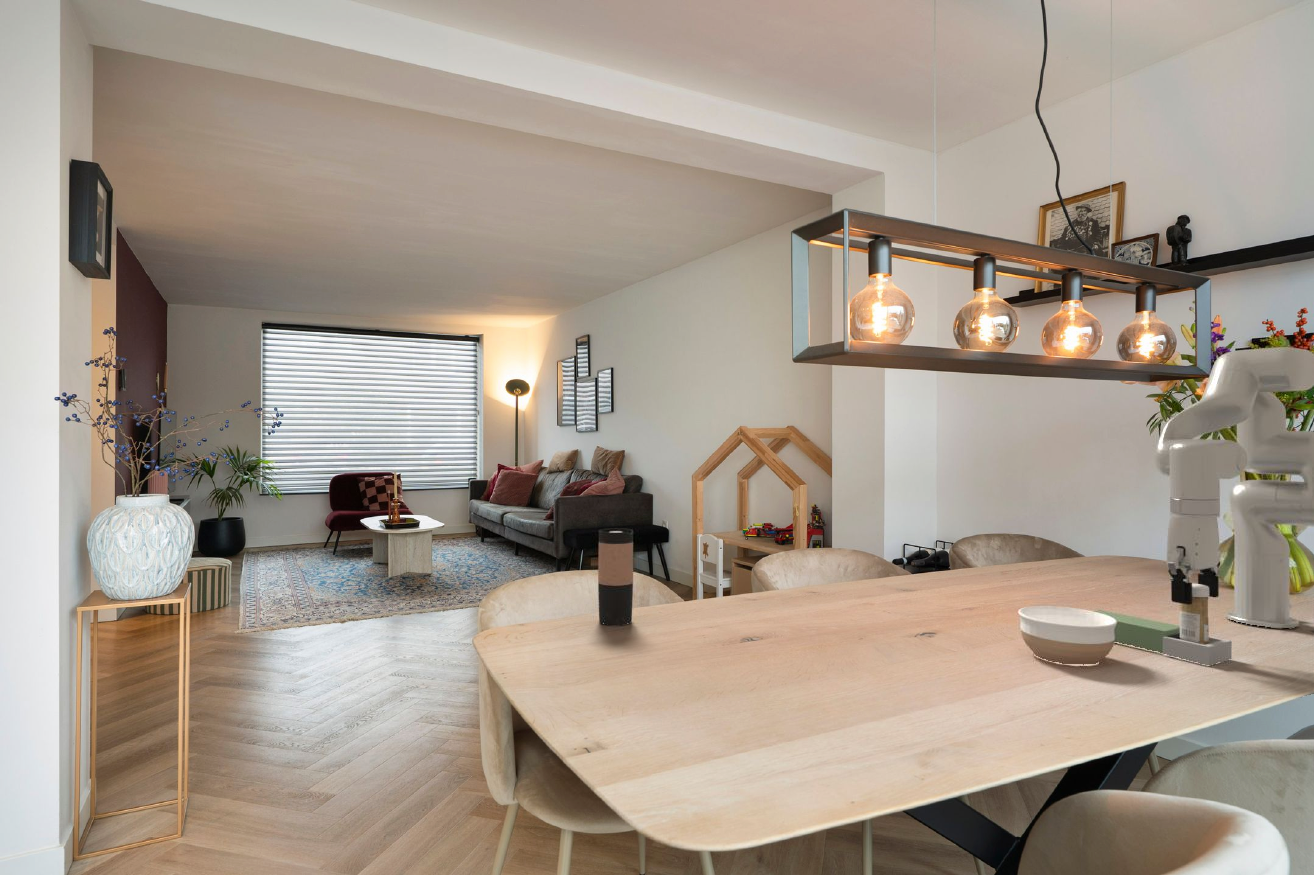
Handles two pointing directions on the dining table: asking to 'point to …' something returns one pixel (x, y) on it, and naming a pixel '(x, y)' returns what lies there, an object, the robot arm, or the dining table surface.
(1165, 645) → the sliding drawer box
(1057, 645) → the bowl
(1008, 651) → the dining table surface
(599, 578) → the travel mug
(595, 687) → the dining table surface
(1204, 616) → the sprinkles bottle
